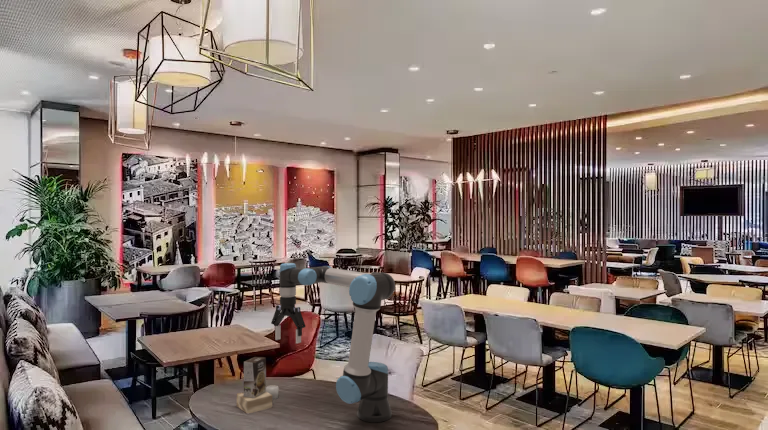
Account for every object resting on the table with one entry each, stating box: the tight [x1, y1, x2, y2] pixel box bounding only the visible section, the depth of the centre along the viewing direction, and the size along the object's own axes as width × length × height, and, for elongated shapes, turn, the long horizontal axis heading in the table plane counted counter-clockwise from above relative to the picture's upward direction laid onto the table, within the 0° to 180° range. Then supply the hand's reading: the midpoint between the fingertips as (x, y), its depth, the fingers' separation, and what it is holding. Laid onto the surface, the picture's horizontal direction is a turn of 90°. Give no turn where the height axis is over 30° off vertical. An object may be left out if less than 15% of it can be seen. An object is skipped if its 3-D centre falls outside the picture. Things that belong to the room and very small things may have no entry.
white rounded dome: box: [266, 384, 279, 401], centre depth 236 cm, size 6×6×5 cm
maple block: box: [236, 391, 273, 414], centre depth 224 cm, size 12×12×6 cm
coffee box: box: [243, 356, 267, 398], centre depth 224 cm, size 9×6×16 cm
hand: (288, 341), depth 229 cm, fingers open, 13 cm apart
